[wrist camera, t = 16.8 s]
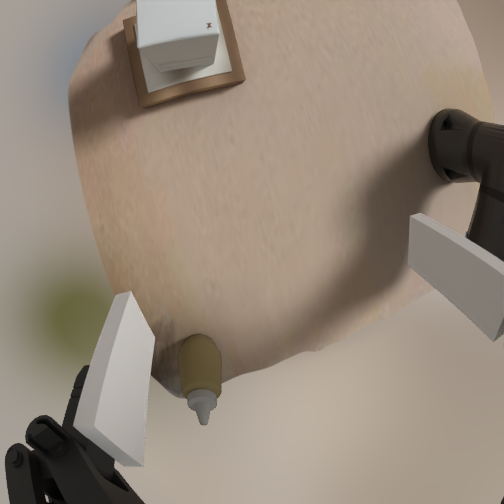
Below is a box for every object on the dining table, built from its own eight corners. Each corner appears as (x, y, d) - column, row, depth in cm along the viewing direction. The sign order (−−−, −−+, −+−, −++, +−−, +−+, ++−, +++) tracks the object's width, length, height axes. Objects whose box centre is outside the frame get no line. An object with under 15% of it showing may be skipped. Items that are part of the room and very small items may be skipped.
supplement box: (210, 17, 27) (215, -26, 16) (214, 65, 30) (221, 35, 19) (154, 26, 26) (135, -14, 15) (157, 73, 29) (136, 49, 18)
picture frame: (222, 2, 28) (224, -7, 25) (242, 83, 34) (245, 79, 31) (127, 26, 27) (122, 19, 24) (144, 108, 34) (139, 106, 31)
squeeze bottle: (187, 362, 54) (188, 438, 38) (171, 334, 50) (167, 414, 34) (225, 353, 54) (236, 429, 38) (212, 324, 50) (221, 405, 34)
